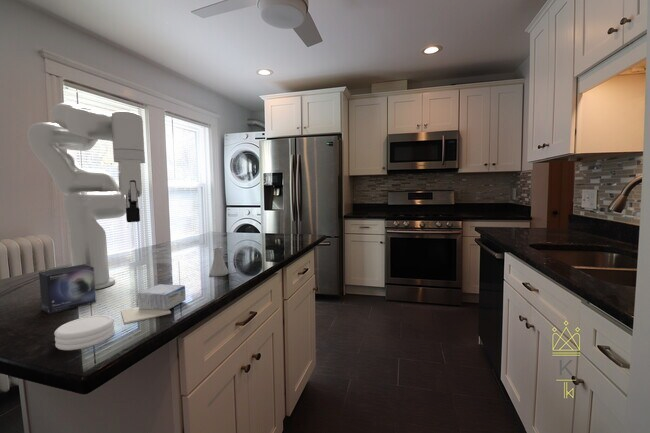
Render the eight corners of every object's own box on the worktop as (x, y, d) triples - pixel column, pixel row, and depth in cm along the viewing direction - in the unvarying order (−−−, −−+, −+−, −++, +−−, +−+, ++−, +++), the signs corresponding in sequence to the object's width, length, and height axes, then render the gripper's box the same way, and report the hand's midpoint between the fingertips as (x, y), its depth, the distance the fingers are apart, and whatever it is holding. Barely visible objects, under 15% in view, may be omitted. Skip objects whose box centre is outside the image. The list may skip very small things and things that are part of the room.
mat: (121, 311, 81) (121, 310, 81) (164, 303, 87) (163, 301, 86) (124, 324, 73) (124, 322, 73) (170, 313, 79) (170, 311, 79)
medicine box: (137, 309, 81) (167, 311, 79) (136, 292, 81) (166, 294, 79) (159, 298, 89) (186, 300, 87) (158, 283, 88) (185, 285, 87)
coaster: (92, 327, 72) (91, 312, 72) (125, 332, 69) (124, 316, 69) (43, 348, 63) (41, 331, 62) (78, 354, 60) (77, 337, 60)
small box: (49, 315, 79) (46, 275, 78) (40, 310, 83) (37, 272, 82) (97, 302, 88) (94, 266, 87) (87, 298, 92) (84, 263, 91)
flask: (225, 276, 112) (224, 249, 112) (205, 277, 112) (204, 250, 112) (231, 271, 120) (230, 246, 119) (213, 272, 120) (211, 246, 119)
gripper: (112, 158, 91) (116, 220, 93) (115, 154, 79) (119, 225, 81) (141, 160, 96) (144, 219, 97) (148, 155, 84) (152, 223, 86)
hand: (133, 221), depth 89 cm, fingers closed
